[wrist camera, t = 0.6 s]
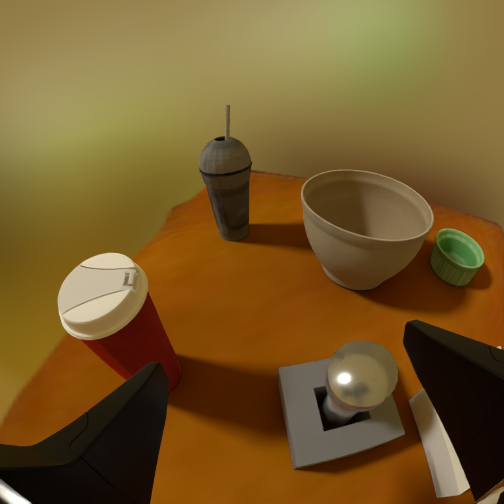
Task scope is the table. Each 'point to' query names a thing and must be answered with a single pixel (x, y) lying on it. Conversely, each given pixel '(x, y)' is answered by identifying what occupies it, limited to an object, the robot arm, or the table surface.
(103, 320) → the paper cup
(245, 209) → the beverage cup
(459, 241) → the ramekin
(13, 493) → the robot arm
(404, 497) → the table surface
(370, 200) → the planter bowl
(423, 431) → the tray
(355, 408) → the pin
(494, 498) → the white knot sculpture
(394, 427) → the block
